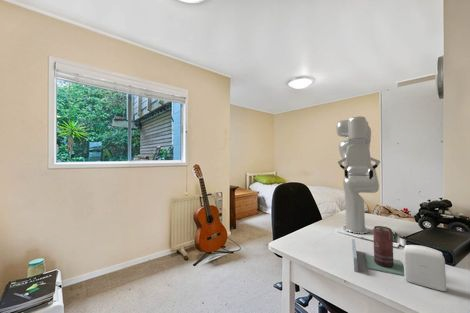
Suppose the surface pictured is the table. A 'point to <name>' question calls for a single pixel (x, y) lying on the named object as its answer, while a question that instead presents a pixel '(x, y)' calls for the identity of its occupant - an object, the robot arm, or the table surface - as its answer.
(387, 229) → the can
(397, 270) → the mat
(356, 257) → the acrylic wall
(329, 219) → the table surface
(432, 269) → the photo printer
